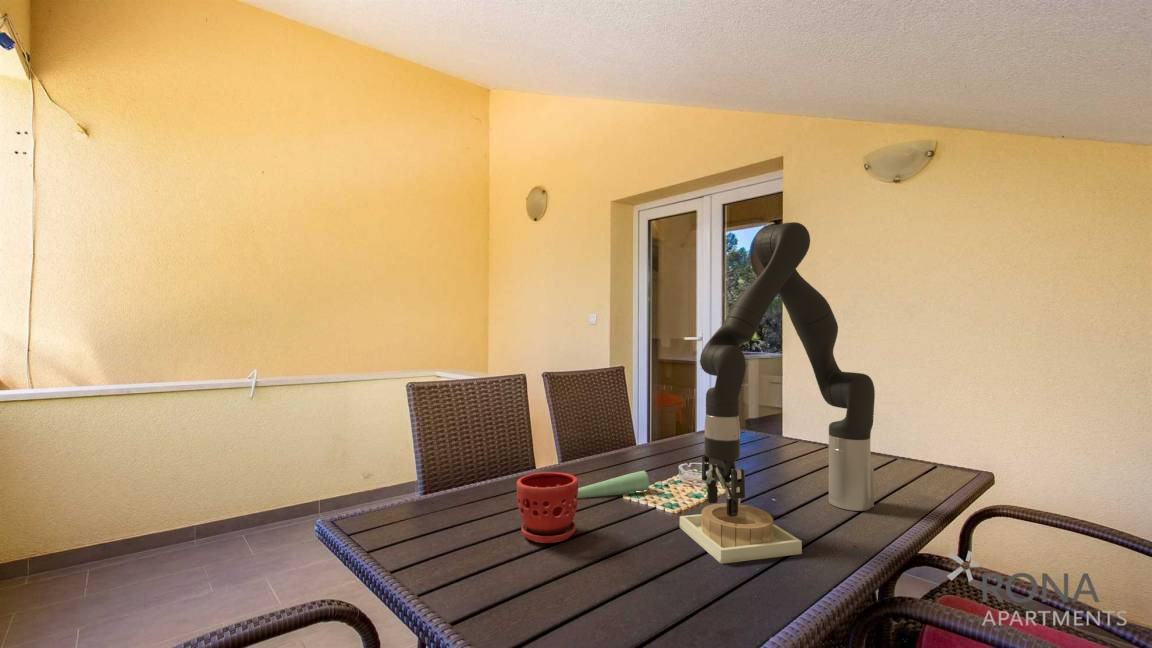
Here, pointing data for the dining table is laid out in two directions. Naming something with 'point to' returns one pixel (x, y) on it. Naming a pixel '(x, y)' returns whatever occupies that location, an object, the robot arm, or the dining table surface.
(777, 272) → the robot arm
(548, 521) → the plant pot
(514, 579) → the dining table surface
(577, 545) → the dining table surface
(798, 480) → the dining table surface
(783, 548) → the tray
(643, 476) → the mint green cone
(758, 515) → the wooden ring
